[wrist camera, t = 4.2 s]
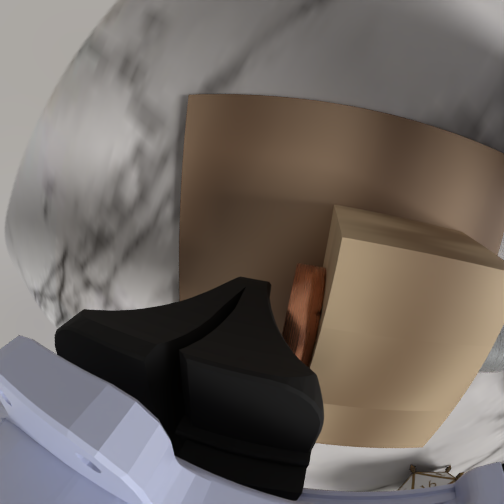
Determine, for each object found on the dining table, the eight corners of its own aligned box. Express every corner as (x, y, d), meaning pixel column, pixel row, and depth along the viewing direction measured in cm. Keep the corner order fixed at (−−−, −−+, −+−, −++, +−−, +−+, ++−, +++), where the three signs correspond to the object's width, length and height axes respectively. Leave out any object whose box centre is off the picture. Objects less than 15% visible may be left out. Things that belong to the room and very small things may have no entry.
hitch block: (509, 158, 8) (584, 170, 3) (412, 415, 14) (423, 482, 9) (194, 97, 11) (118, 70, 6) (187, 377, 17) (149, 439, 12)
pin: (498, 284, 10) (542, 330, 6) (466, 356, 11) (492, 411, 7) (301, 247, 11) (289, 296, 8) (285, 333, 13) (268, 398, 9)
